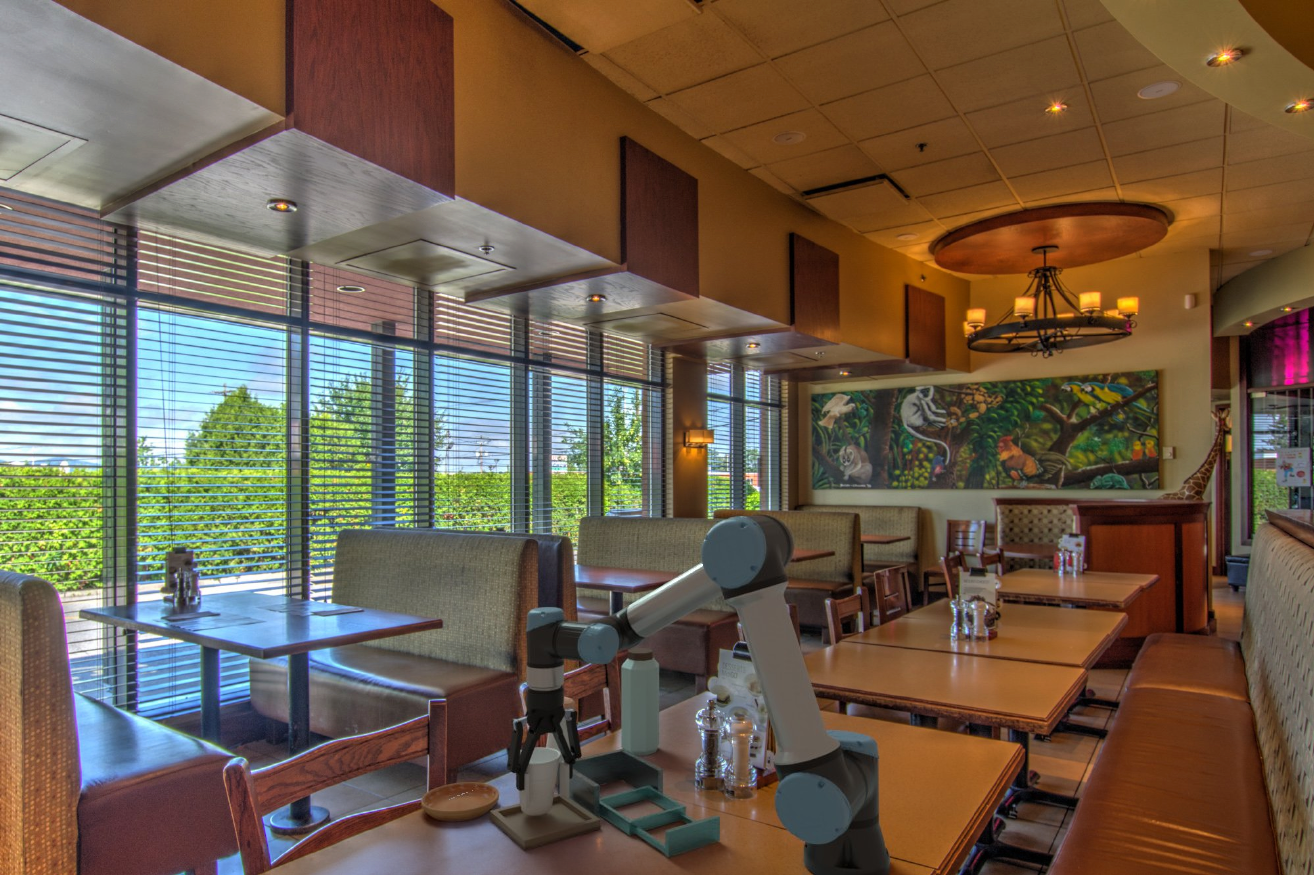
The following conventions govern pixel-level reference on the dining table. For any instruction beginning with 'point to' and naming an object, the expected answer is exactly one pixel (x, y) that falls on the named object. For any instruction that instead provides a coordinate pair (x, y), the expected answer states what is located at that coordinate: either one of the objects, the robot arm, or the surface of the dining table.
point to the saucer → (460, 801)
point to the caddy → (661, 821)
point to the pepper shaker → (551, 740)
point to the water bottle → (640, 702)
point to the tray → (545, 823)
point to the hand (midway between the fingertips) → (544, 800)
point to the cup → (541, 780)
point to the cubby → (609, 776)
